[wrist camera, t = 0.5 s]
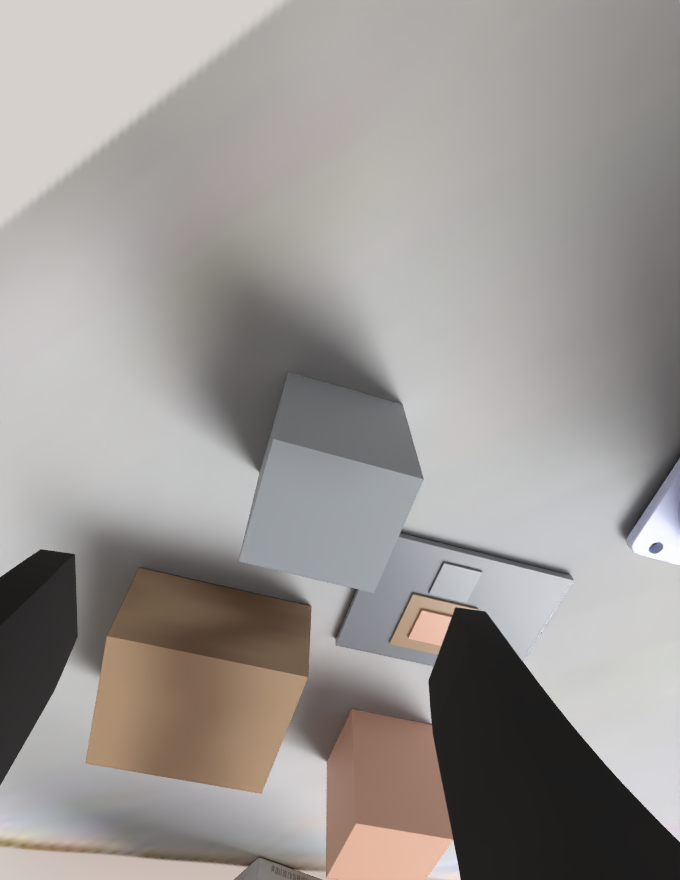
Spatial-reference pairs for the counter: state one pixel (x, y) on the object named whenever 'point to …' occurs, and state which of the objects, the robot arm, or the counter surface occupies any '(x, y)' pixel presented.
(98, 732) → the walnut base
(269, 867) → the coffee box
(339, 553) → the grey block
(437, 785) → the terracotta block
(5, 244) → the counter surface
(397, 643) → the tile
